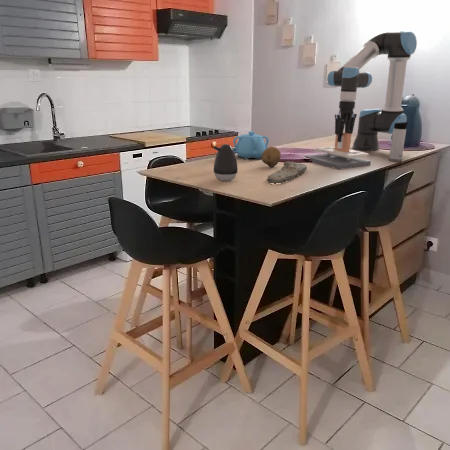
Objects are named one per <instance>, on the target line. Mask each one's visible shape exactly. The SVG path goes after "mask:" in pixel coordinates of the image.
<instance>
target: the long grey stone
mask: <svg viewBox="0 0 450 450" xmlns="http://www.w3.org/2000/svg"><path fill="white" fill-rule="evenodd" d="M305 171H307V165H306V164H305V163H299V162H295V161H293V160H292V161H288V160H287V161H284V162H283V166H282V167H281V169H280V170H276V171H275V172H273V173H271V174H270V175H268V176H267V178H266V182H269V183H274V184H276V183H282V184H284V183H286V181H287V182H290V181H291V180H294V179H295V178H294V177H296V178H297V177H298V175H299V176H301V175H302V174H303V172H304V173H305ZM289 180H290V181H289ZM283 182H284V183H283ZM269 183H268V184H269Z"/></svg>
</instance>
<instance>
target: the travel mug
mask: <svg viewBox="0 0 450 450" xmlns="http://www.w3.org/2000/svg"><path fill="white" fill-rule="evenodd" d="M408 124H409V122H408V121H406V122H400V123H395V124H394V130H393V134H392V136H391V143H390V151H389V157H388V160H389V161H391V162H402V161H403V160H402V159H403V154H404V147H405V141H406V136H407V135H406V133H407V126H408Z"/></svg>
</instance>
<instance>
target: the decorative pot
mask: <svg viewBox="0 0 450 450" xmlns="http://www.w3.org/2000/svg"><path fill="white" fill-rule="evenodd" d="M264 138H265V139H266V142H265V141H264ZM236 140H237V142H236ZM232 141H233V146H234V147H232V149H233V151H234V153H235V154H237V155H238V156H239V157H241V158H243V160H249V159H250V158H252V159H254V158H255V159H256V160H259V159H261V158H262V154H263V152H264V150H265V149H267V148H268V145H269V142H270V139H269V137H268V136H266V135H260V134H257V133H255V131H248V133H247V134H246V133H245V134H241V135H240V136H239V135H238V136H235V137H234V138H233V140H232Z"/></svg>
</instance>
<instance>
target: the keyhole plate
mask: <svg viewBox="0 0 450 450" xmlns="http://www.w3.org/2000/svg"><path fill="white" fill-rule="evenodd" d="M342 136H344V137H343V146H342V149H339V148H337V146H338V141H337V140H338V135H336V134H335V140H334V141H335V142H334V146H322V147H316V148H315V151H318V152H321V153H324V154H327V153H329V154H333V155H337V156H341V157H346V158H354V157H356V158H359V157H360V158H361V157H368V156H369V152H368V153H367V152H365V151H360V150H357V149H351V141H352V134H350V133H345V131H343V135H342ZM327 149H334V150H327ZM345 153H351V154H352V155H348V154H345Z"/></svg>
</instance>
